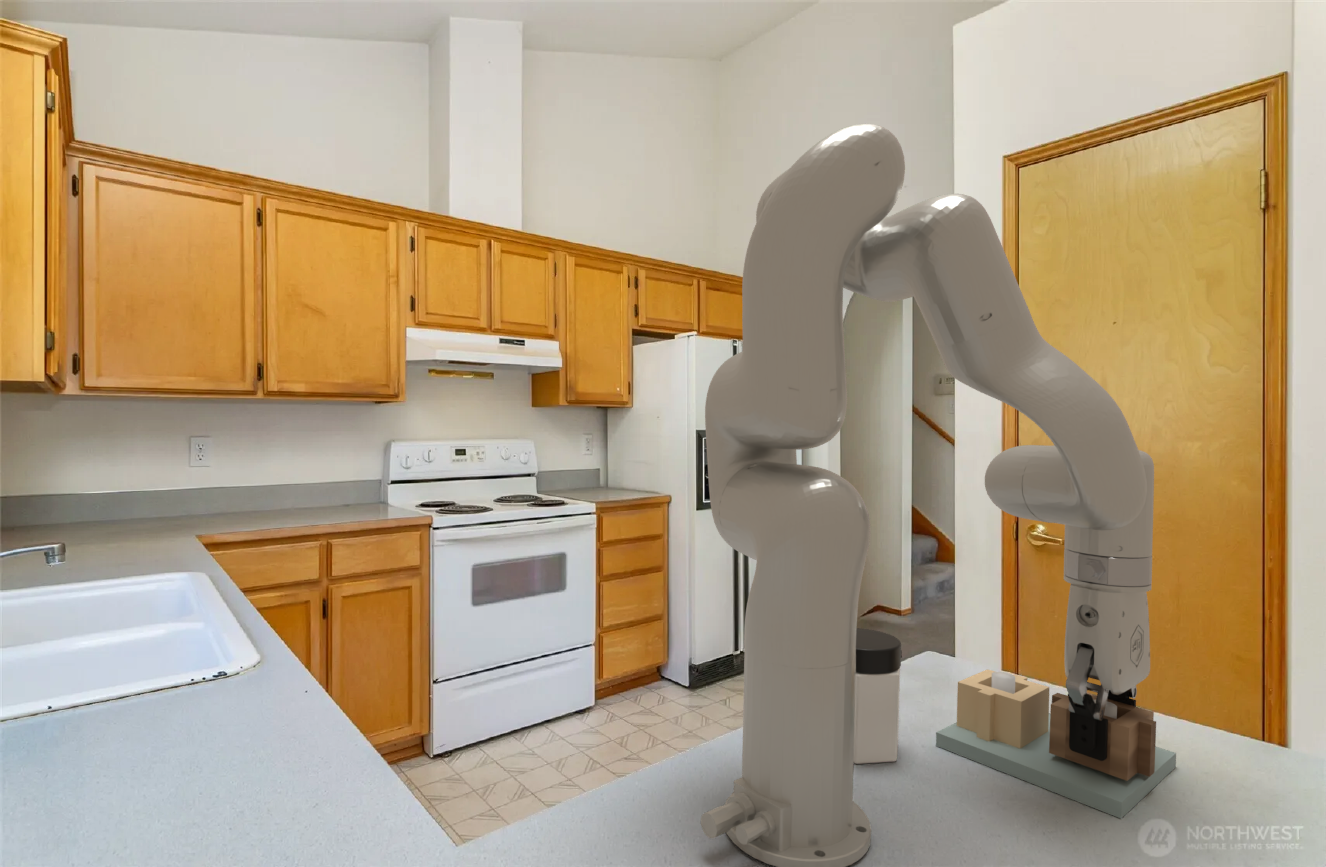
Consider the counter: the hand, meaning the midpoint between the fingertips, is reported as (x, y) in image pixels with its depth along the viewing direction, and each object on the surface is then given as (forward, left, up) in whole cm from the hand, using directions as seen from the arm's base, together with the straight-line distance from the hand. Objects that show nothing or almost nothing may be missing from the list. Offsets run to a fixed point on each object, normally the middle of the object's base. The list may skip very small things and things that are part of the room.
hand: (1102, 742), depth 71 cm
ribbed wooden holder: (0, 0, -1) cm, 1 cm away
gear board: (+1, +5, -4) cm, 6 cm away
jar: (-14, +19, -4) cm, 24 cm away
